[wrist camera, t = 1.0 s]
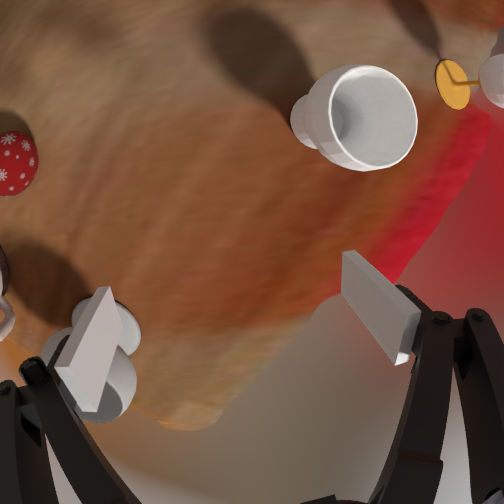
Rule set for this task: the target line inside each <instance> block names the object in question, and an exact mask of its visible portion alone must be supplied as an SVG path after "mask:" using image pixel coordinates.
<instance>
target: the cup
mask: <svg viewBox="0 0 504 504" xmlns="http://www.w3.org/2000/svg"><path fill="white" fill-rule="evenodd" d="M290 122H291V127H292V130H293V132H294V134H295V136H296V137H297V138H298V139H299V141H300V142H302V143H303V144H304V145H306V146H308V147H311V148H315V149H318V150H319V152H320V153H321V154H322V155H324V156H325V157H326V158H327V159H329V160H330V161H331V162H333V163H335V164H338V165H340V166H342V167H345V168H349V169H352V170H359V171H369V170H376V169H382V168H387V167H390V166H392V165H394V164H396V163H398V162H399V161H400V160H402V159H403V158H404V157H405V156H406V155H407V153H408V152H409V150H410V149H411V147H412V145H413V143H414V140H415V137H416V134H417V122H418V121H417V113H416V108H415V105H414V102H413V99H412V97H411V95H410V93H409V92H408V90H407V88H406V87H405V85H404V84H403V83H402V82H401V81H400V80H399V79H398V78H397V77H396V76H394V75H393V74H391V73H390V72H388V71H387V70H385V69H382V68H379V67H376V66H370V65H345V66H342V67H339V68H336V69H333V70H331V71H329V72H327V73H326V74H324V75H323V76H322V77H320V78H319V79H318V80H317V81H316V82H315V84H314V85H313V86H312V88H311V89H310V91H309V94H307V95H304V96H303V97H301V98H300V99H299V100H297V102H296V103H295V105H294V106H293V108H292V111H291V117H290Z"/></svg>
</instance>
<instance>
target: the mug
mask: <svg viewBox="0 0 504 504" xmlns="http://www.w3.org/2000/svg"><path fill="white" fill-rule="evenodd" d="M8 282H9V281H8V268H7V264H6V261H5V257H4V254H3V252H2V250H1V248H0V308H1V309H2V310H3V311H4V313H5V319H4V321H3V322H2V323H1V324H0V341H2V340H3V339H4V338H5V337H6V335H7V334H8V333H9V332H10V331H11V330H12V328H13V325H14V322H15V319H16V318H15V315H14V312H13V309H12V306H11V305H10V304H9V302H8V301H7V300H6V299H5V298H4V297H3V296H4V294H5V293H6V291H7V286H8Z"/></svg>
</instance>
